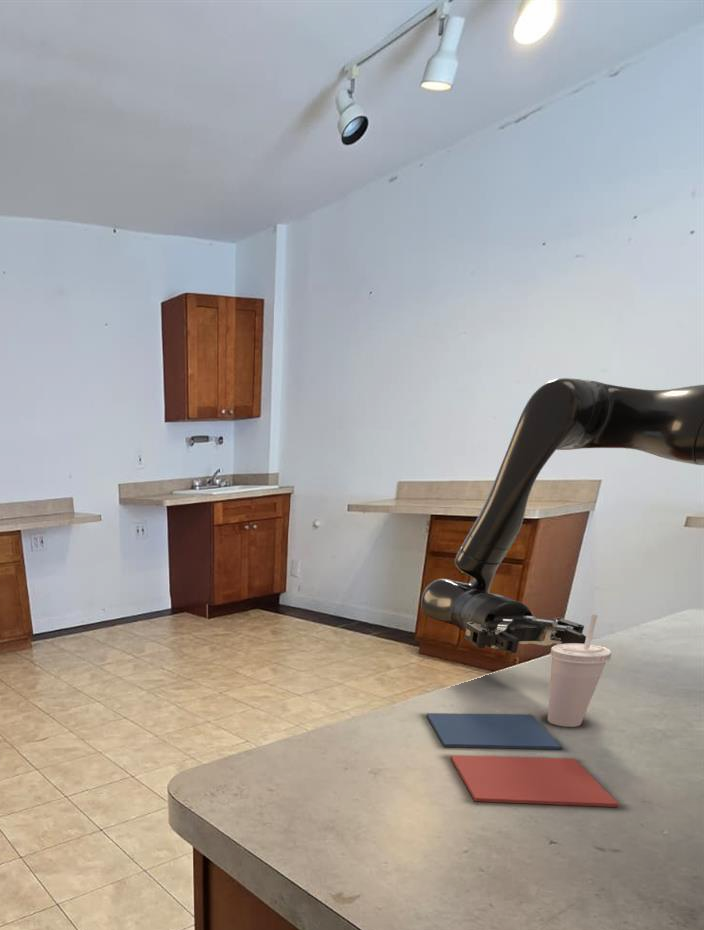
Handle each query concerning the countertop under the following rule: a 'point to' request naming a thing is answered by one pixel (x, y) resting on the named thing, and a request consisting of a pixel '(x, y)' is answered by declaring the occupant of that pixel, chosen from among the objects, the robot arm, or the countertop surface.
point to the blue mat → (491, 731)
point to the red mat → (530, 781)
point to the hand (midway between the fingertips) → (548, 645)
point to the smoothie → (574, 678)
